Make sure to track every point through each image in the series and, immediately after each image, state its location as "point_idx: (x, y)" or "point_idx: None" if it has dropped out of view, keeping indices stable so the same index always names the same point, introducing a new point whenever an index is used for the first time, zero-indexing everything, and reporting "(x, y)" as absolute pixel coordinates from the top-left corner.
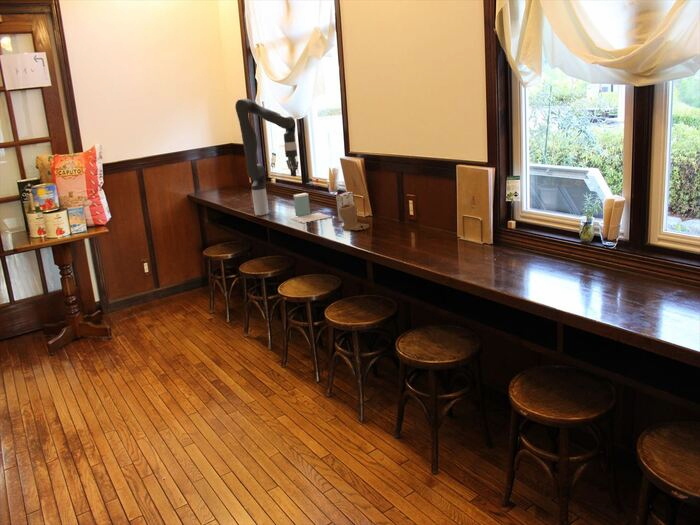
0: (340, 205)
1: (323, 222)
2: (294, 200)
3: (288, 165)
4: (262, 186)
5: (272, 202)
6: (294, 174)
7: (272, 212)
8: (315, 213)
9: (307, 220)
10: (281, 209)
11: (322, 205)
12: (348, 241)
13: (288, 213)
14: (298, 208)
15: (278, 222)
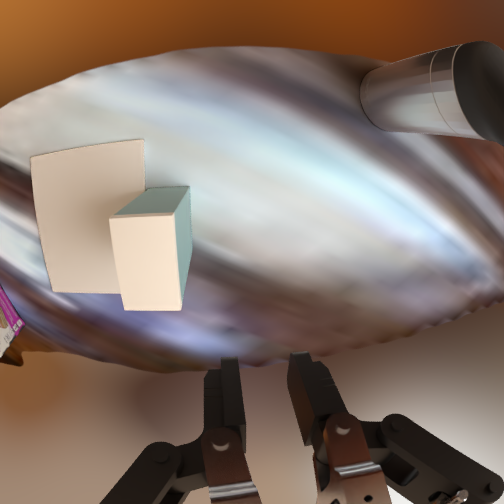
0: None
1: (6, 230)
2: (171, 205)
3: (420, 462)
4: (469, 85)
5: (491, 246)
6: (205, 386)
7: (380, 149)
8: None
9: (47, 187)
10: (395, 210)
11: None
12: None
13: (290, 189)
14: (136, 198)
15: (135, 67)
